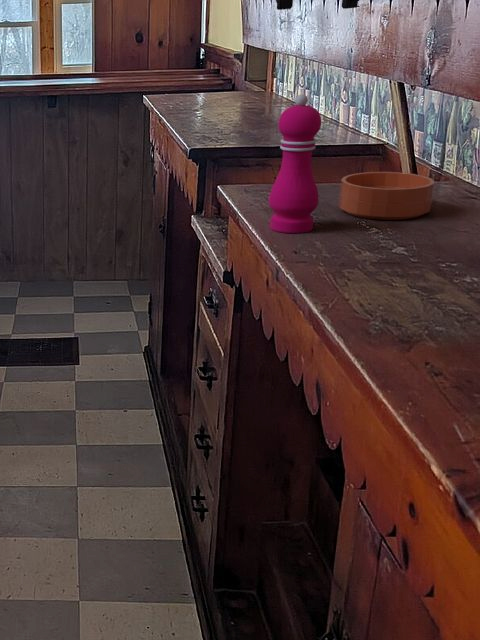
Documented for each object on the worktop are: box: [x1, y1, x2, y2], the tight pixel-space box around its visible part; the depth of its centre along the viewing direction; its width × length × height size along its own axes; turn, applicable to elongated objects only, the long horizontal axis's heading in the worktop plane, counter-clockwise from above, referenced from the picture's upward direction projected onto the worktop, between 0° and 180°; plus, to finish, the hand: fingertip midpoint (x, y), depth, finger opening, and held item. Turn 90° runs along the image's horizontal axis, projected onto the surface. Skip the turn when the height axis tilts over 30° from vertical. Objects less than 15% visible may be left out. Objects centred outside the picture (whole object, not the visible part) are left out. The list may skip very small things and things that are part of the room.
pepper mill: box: [268, 93, 322, 234], centre depth 129 cm, size 7×7×20 cm
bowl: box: [338, 171, 436, 221], centre depth 139 cm, size 14×14×5 cm
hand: (316, 8), depth 119 cm, fingers open, 9 cm apart
